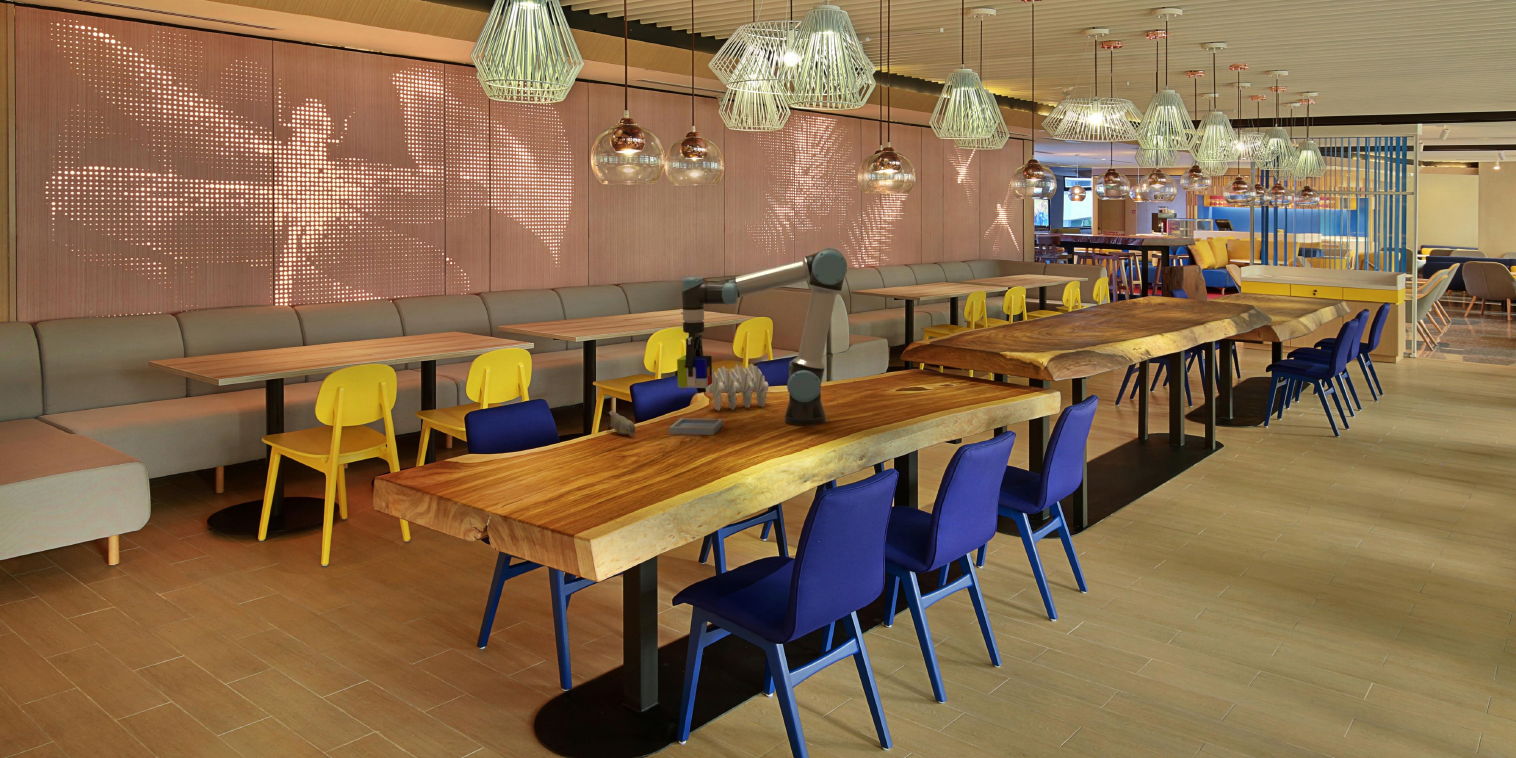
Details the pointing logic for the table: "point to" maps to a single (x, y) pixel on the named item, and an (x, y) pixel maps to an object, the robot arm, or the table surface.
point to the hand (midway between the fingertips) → (695, 383)
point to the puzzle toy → (701, 372)
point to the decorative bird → (621, 424)
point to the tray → (696, 426)
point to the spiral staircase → (738, 386)
